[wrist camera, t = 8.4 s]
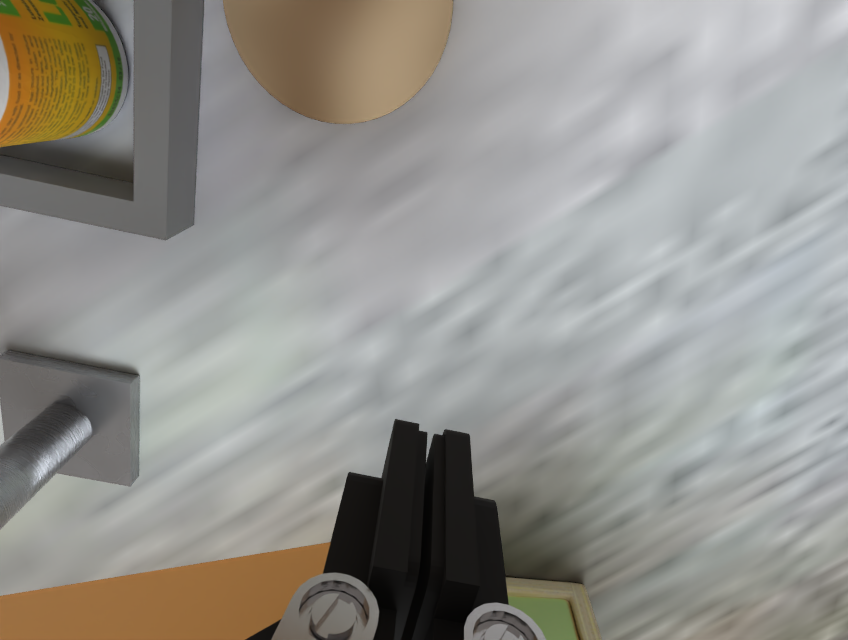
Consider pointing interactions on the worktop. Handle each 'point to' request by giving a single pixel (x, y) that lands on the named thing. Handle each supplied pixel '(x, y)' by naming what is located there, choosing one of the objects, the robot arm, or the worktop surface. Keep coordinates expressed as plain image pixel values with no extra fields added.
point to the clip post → (64, 426)
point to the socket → (135, 138)
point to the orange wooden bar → (167, 601)
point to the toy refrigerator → (555, 608)
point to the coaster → (340, 52)
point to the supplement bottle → (58, 70)
